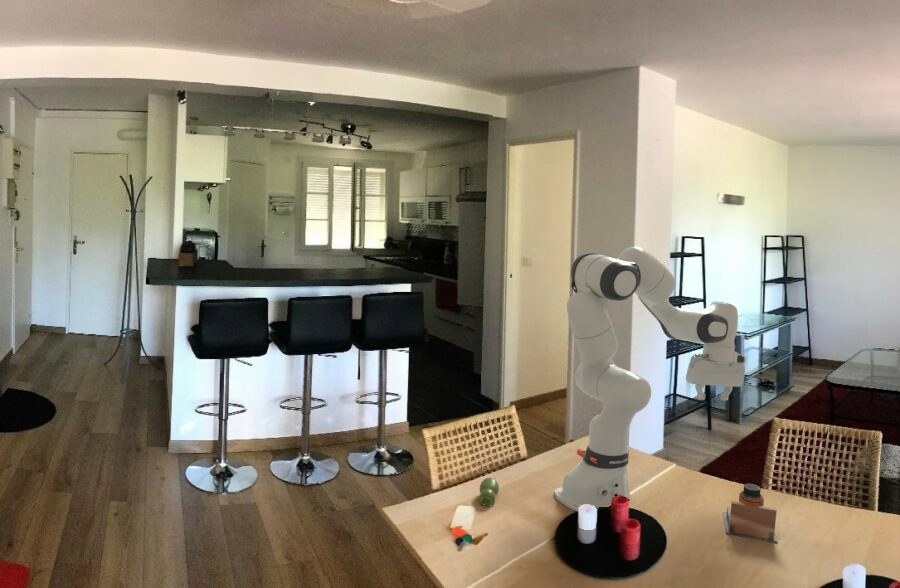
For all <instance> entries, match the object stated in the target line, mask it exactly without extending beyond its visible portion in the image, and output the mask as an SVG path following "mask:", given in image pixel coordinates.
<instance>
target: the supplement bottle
mask: <svg viewBox="0 0 900 588" xmlns="http://www.w3.org/2000/svg"><path fill="white" fill-rule="evenodd" d="M738 502H741V503H747V504H754V505H760V506H765V504H764V502H765V499H764V496H763V495H762V494H761V487H760V486H759V485H756V484H753V483H745V484H744V485H743V490H742V491H740V492H739V494H738Z"/></svg>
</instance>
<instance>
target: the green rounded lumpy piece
mask: <svg viewBox="0 0 900 588" xmlns="http://www.w3.org/2000/svg"><path fill="white" fill-rule="evenodd" d="M479 485H480V486H479V500H478V502H479V504H480V503H481V504H485V505H492V504H493V505H495V504H494V503H496V496H497V495H498V494H499V491H500V486H499V482H498V481H497V479H495V478H494V477H493V478H492V477H486V478H484V479H483V480H482V481H481V482H480V484H479ZM485 505H484V506H485Z"/></svg>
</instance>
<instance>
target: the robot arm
mask: <svg viewBox="0 0 900 588" xmlns="http://www.w3.org/2000/svg"><path fill="white" fill-rule="evenodd" d="M570 275H571V288H572V290H573V291H574V294H572V295H571V296H570V297H569V298H568V300H567V302H566V311H567V318H568V322H569V326H570V330H571V333H572V336H573V339H574V342H575V345H576V348H577V351H578V354H579V358H580V364H579V366H578V367H577V369H576V370H575V373H574V382H575V385H576V387H577V388H578V389H579V390H581V391H582V393H583V394H585V395H586V396H588V397H591V398H593V399H595V400H597V401H600V402H602V410H601V413H600V414H597V415H595V416H594V417H593V418H592V419H591V420H590V423H589V432H588V433H589V434H588V436H589V437H588V445H587V447H586V449H585V450H584V449H582V448H577V450H576V455H578V456H580V457H581V458H582V460H580V461H579V462H578V464H575V466H574V467H573V468H571V469H570V470H569V471H568V472H567V473H566V474H565V476H564V478H563V481H562V486H561V487H558V488H555V489H554V497H555V498H556V499H557V500H558V501H559V502H560V503H561V504H562V505H564V506H566V507H567V508H569V509H571V510H572V511H576V512H578V511H577V510H578V507H579V506H580V505H583V504H590V505H594V506H596V507H597V508H599V507H609V505H610V502H611V498H612V497H614V496H618V495H623V496H626V497H627V498H628V499H629V501H630V500H631V494H630V489H629V483H628V482H629V481H628V470H627V469H628V464H629V459H630V458H629V455H630V454H629V452H630V451H629V449H628V447H629V446H628V445H629V435H630V427H631V423H632V421H633V419H634V417H635V415H637V413H639V412H641V411H644V409H645V408H646V407H648V405H649V403H650V400H651V398H652V389H651V385H650V383H649V381H647V380H646V379H645V378H644V377H642V376H641V375H639V374H637V373H636V372H633V371H630V370H627V369H624V368H622V367H620V366H619V367H618V366H617V365H616V364H615V362H614V360H613V359H614V357H615V355H616V353H617V352H618V350H619V342H618V339H617V336H616V333H615V330H614V327H613V324H612V320H611V318H610V315H609V313H608V308H607V303H608V300H610V301H614V302H615V301H616V302H617V301H618V302H619V301H621V302H622V301H625V300H627V299H629V298H630V297H632V296H633V294H634V293H635V294H636V295H637V297H638V299H639V300H640V302H641V304H643V306H644V307H645V308H646V309H647V310H648V312H650V314H651V315H652V316H653V317H654V318H655V319H656V321H658V323H659V325H660V328H661V329H662V332H663V333H664V335H665V336H666V337H667V338H668V339H671V340H674V341H675V340H678V341H687V342H691V343H692V342H693V343H697V344H698V343H699V344H703V348H702V353H698V352H697V353H695V354H694V355H692V356H691V357H690V361H689V364H688V366H687V372H686V376H685V381H686V382H687V383H688V384H692V385H695V386H694V387H695V391H696V393H697V394H696V395H697V396H696V398H697V399H698V400H705V399H706V393H704V390H703V389H704V388H705V386H718V387H719V386H720V387H723V388H724V390H723V392H722V393H720V394H719V395H720V400H721V401H728V400H729V396H730V394H731V393H732V391H733V387H742V386H743V384H744V380H745V373H746V372H745V371H746V367H745V364H746V362H747V358H746V356H744V355H742V354H740V353H739V352H737V351H735V349H736V344H735V338H736V336H737V332H738V324H739V321H738V320H739V316H738V315H739V314H738V308H737V307H736V305H733V304H732V303H727V302H724V301H712V302H711V303H710V305H709V306H707V307H705V308H704V309H701V310H695V309H689V308H688V309H685V308H682V307H677V306H674V305H672V303H670V301H669V300H668V299H669V298H670V297H671V296H672V294H673V293H674V290H675V286H676V280H675V276H674V275H673V274H672V272H671V271H670V270H669V269H668V268H667V267H666V266H665V265H664V264H663V263H662V262H661V261H660V260H659V259H658V258H657V257H655V256H654V255H652V254H651V253H650V252H648V251H646V250H645V249H643V248H642V247H638V246H632V247H628V248H625V249H623V251H621V253H619V255H618V256H617V258H613V257H611V256H608V255H604V254H598V253H594V252H593V253H592V252H591V253H585V254H584V253H583V254H581V255H578V256H577V258H576V259H574V261H573V262H572V265H571V270H570Z"/></svg>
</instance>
